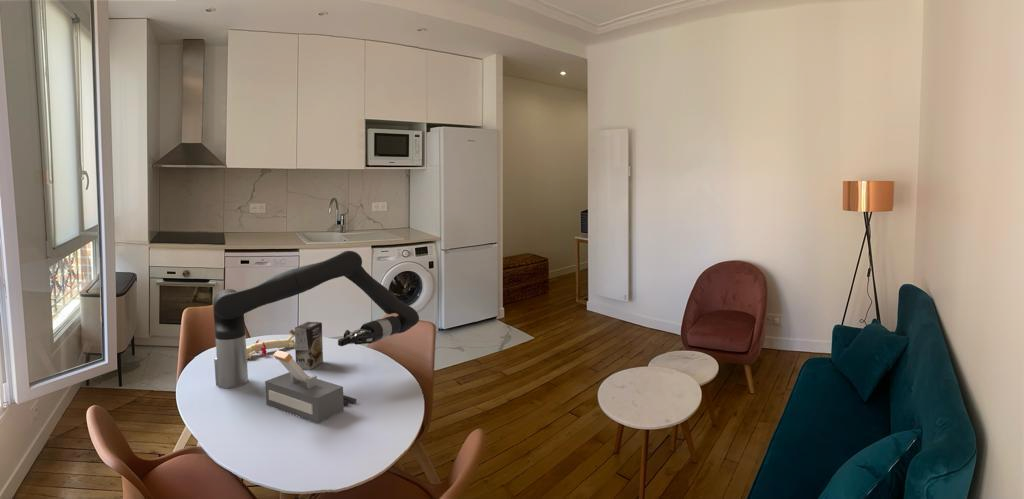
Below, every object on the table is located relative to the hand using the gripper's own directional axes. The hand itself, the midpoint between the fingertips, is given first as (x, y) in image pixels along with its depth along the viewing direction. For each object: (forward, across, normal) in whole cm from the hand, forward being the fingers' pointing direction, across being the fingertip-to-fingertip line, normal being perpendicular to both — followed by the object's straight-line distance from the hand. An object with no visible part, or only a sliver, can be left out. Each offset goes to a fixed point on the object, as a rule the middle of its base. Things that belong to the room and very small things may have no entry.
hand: (339, 343), depth 176 cm
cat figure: (-11, -55, +18) cm, 59 cm away
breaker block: (+12, 0, +17) cm, 21 cm away
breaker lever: (+15, 0, +8) cm, 17 cm away
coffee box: (-11, -29, +17) cm, 36 cm away
